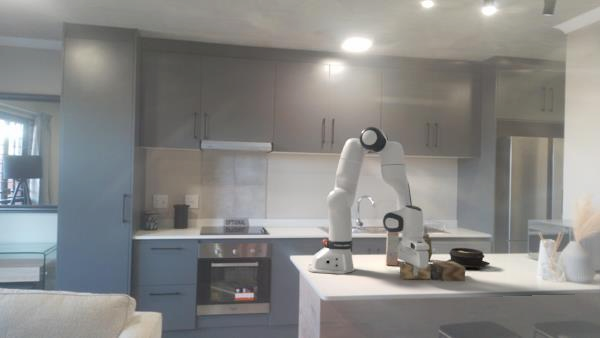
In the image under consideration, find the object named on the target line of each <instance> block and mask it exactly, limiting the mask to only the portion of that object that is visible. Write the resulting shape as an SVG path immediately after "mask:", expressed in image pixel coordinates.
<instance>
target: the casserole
mask: <svg viewBox="0 0 600 338" xmlns="http://www.w3.org/2000/svg"><path fill="white" fill-rule="evenodd" d="M448 254H449V256H450V258H449V259H448V260H446V261H453V262H456V263H458V264H460V265H462V266H464V267H465V270H474V269H475V270H476V269H479V268H484V267H486V266H489V265H490V264H491V263H490V262H489V261H484V260H483V259H484V258H485V255H484V252H483V251H482V250H480V249H475V248H467V247H453V248H451V249H450V251H449V253H448Z"/></svg>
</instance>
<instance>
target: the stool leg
mask: <svg viewBox="0 0 600 338" xmlns="http://www.w3.org/2000/svg"><path fill="white" fill-rule="evenodd" d="M399 265H400V266H399V269H400V270H399V271H400V272H399V278H400V279H405V280H407V279H408V280H409V279H430V271H431V269H432V270H437V264H433V263H428V266H427V268H419V270H418V275H417V276H414V275H412V271H414V265H412V264H404V263H400V264H399Z"/></svg>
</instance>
